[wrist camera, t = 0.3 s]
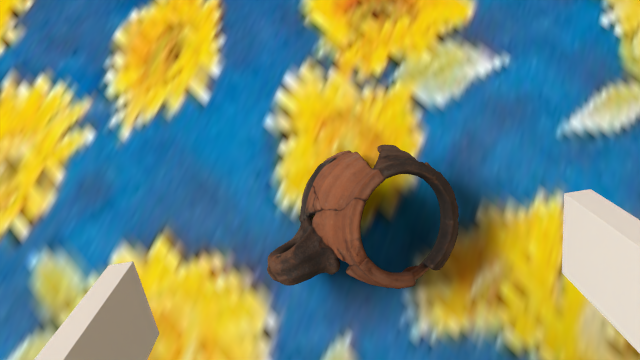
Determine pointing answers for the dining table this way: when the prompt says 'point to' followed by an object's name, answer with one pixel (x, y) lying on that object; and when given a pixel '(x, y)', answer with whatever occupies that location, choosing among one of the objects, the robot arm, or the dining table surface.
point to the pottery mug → (357, 221)
